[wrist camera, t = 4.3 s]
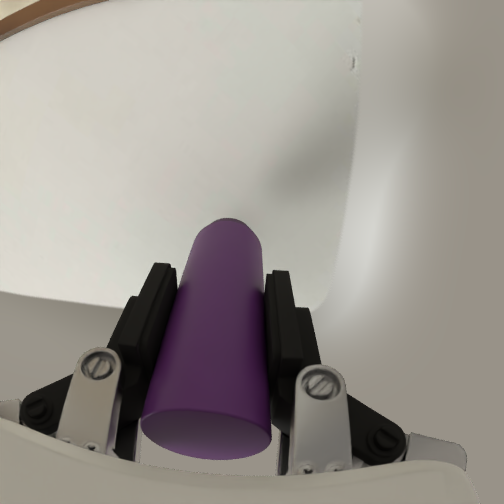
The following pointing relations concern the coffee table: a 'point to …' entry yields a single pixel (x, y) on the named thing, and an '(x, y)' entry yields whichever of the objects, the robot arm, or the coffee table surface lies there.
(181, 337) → the marker
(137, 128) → the coffee table surface
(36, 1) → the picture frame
